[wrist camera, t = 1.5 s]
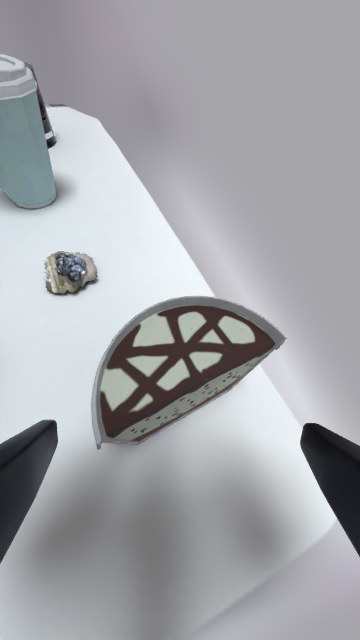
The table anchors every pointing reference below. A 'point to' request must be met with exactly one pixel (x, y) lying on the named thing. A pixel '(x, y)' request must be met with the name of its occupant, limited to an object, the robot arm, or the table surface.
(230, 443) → the table surface
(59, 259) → the crystal geode
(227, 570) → the table surface
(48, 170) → the disposable coffee cup
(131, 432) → the food container
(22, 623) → the table surface
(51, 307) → the table surface
